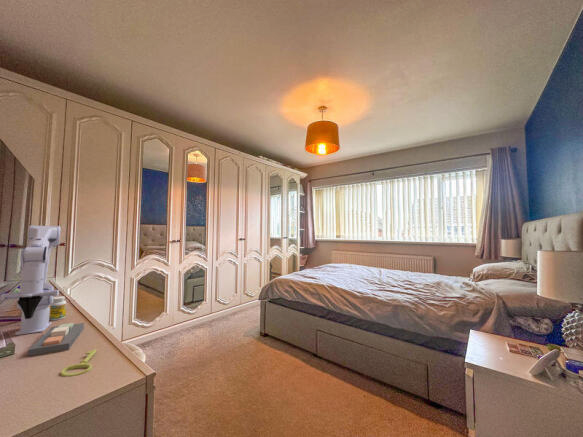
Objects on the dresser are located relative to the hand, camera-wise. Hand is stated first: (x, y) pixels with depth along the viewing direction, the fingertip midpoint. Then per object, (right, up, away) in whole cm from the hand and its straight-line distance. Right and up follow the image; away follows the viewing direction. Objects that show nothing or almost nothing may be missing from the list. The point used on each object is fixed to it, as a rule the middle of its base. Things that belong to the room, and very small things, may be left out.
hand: (29, 317), depth 85 cm
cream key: (+8, -8, +3) cm, 12 cm away
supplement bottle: (-13, -10, +23) cm, 29 cm away
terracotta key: (+11, -9, -2) cm, 14 cm away
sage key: (+5, -9, +9) cm, 14 cm away
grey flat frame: (+8, -10, +3) cm, 13 cm away
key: (+30, -11, -12) cm, 34 cm away
